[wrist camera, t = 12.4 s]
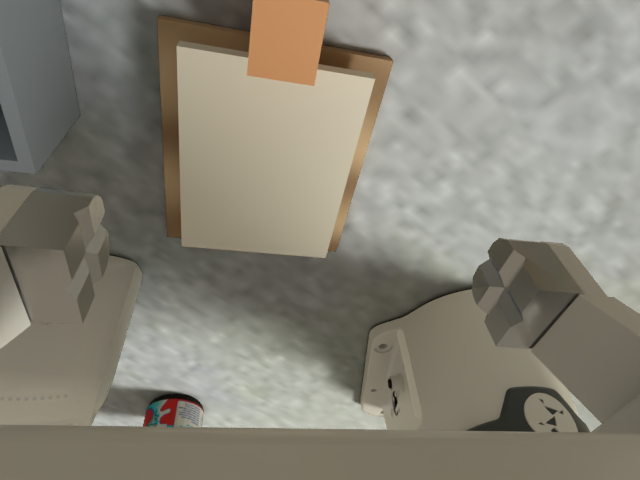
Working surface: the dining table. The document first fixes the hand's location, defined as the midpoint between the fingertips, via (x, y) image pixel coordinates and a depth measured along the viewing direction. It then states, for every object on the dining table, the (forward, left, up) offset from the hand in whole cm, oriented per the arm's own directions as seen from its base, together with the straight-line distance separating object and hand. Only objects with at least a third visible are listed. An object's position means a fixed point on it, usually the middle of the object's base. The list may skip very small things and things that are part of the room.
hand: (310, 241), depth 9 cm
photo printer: (-19, +13, -17) cm, 29 cm away
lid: (-6, 0, -16) cm, 17 cm away
